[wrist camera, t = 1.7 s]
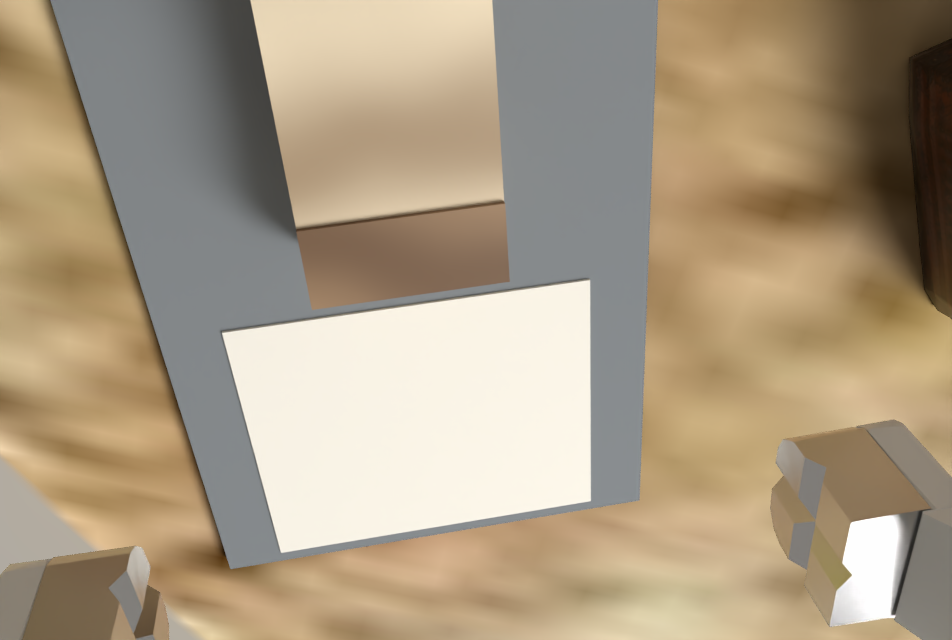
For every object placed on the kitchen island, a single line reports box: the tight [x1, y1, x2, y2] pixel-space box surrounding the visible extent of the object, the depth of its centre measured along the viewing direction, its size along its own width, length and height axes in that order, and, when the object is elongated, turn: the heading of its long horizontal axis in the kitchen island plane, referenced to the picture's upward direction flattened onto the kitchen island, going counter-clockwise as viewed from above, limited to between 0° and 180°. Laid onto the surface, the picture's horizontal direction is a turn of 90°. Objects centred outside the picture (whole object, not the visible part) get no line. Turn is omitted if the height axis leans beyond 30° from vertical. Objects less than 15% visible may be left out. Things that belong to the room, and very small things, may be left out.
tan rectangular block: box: [250, 0, 510, 310], centre depth 24 cm, size 9×6×4 cm, turn 4°
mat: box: [50, 0, 658, 569], centre depth 29 cm, size 23×16×1 cm
